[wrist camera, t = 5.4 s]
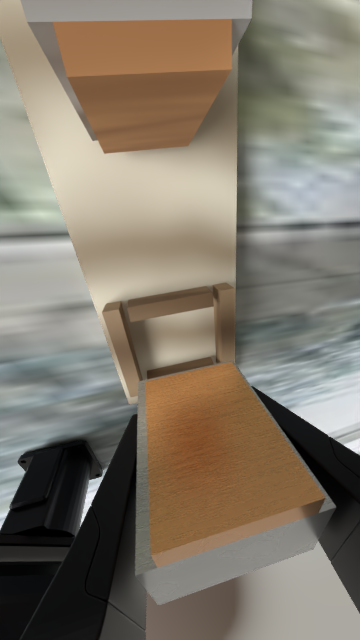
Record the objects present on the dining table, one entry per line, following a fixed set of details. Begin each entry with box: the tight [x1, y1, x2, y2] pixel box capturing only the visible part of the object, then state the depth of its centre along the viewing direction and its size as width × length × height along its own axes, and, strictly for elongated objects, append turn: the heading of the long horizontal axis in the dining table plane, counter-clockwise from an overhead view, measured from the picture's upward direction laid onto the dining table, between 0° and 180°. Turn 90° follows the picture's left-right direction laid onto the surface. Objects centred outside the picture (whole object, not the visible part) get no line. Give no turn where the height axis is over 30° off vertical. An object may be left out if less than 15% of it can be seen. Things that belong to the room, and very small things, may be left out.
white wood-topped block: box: [135, 360, 336, 605], centre depth 8 cm, size 4×5×6 cm
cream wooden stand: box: [0, 0, 252, 405], centre depth 10 cm, size 24×10×8 cm, turn 7°
